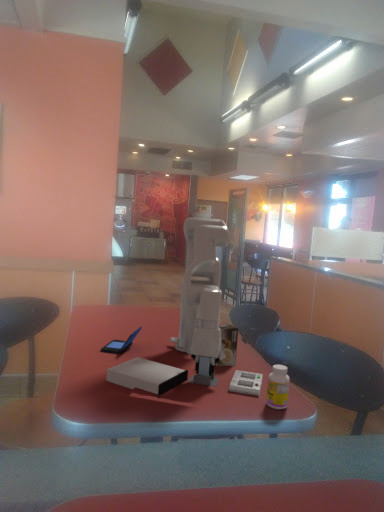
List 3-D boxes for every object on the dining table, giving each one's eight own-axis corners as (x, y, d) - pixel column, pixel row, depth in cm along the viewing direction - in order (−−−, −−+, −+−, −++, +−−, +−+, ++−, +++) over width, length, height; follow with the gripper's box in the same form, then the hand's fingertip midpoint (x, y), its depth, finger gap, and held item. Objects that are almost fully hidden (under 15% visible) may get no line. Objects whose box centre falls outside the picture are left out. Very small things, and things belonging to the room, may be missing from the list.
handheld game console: (113, 342, 191) (114, 322, 190) (141, 346, 189) (142, 325, 188) (99, 352, 176) (100, 330, 175) (129, 356, 173) (131, 334, 173)
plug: (197, 381, 148) (200, 354, 147) (200, 377, 151) (202, 351, 151) (207, 382, 147) (210, 356, 146) (209, 379, 151) (211, 353, 150)
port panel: (228, 393, 141) (229, 384, 141) (235, 377, 157) (236, 368, 156) (258, 398, 139) (259, 388, 139) (262, 382, 154) (262, 373, 154)
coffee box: (227, 361, 175) (230, 324, 174) (235, 366, 169) (239, 327, 168) (208, 363, 171) (211, 325, 169) (216, 368, 165) (219, 329, 164)
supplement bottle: (263, 400, 138) (267, 362, 137) (283, 401, 138) (286, 363, 137) (269, 409, 131) (272, 370, 130) (289, 410, 132) (293, 370, 131)
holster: (187, 384, 147) (188, 374, 146) (192, 376, 154) (193, 367, 154) (215, 389, 144) (216, 379, 144) (219, 381, 152) (220, 371, 152)
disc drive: (159, 400, 133) (160, 384, 133) (105, 382, 145) (106, 368, 144) (187, 383, 149) (188, 370, 148) (136, 368, 160) (137, 356, 159)
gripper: (182, 322, 146) (179, 373, 147) (230, 329, 142) (226, 381, 143) (188, 318, 153) (184, 367, 155) (233, 324, 149) (229, 374, 151)
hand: (204, 373), depth 149 cm, fingers open, 4 cm apart
